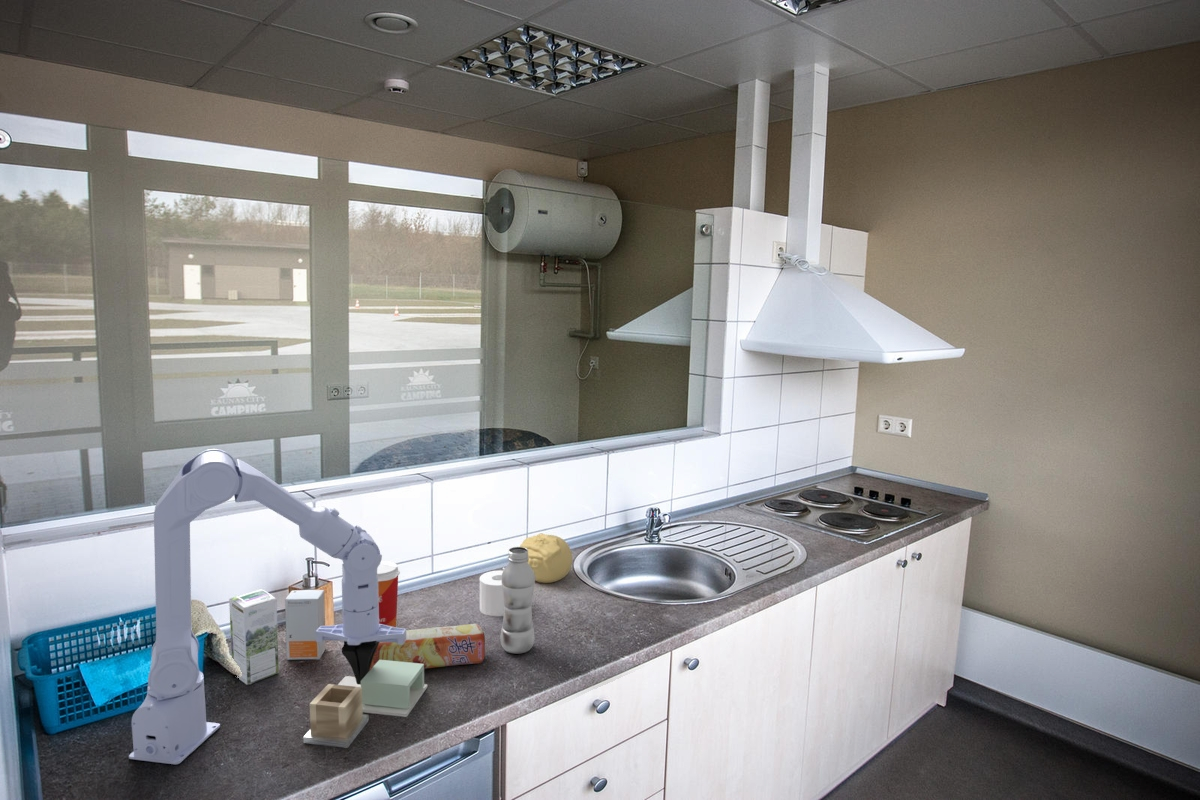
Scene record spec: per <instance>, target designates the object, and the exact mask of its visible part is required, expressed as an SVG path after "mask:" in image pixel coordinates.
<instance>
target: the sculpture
mask: <svg viewBox="0 0 1200 800" xmlns="http://www.w3.org/2000/svg"><path fill="white" fill-rule="evenodd" d="M519 547H524V548H526V549H528V557H529V560H528V561H527V562H528V564H529V565H530V566H531V568H532V569H533V571H534V574H535V582H538V583H543V584H551V583H554V582H558V581H559V580H562V579H564V578H566V576H567V575H568V574H569V572H570V570H571V568H572V564H573V553H572V550H571V548H570V546H569V544H568V542H566V540H564V539H563V538H562V537H559V536H557V535H554V534H544V533H539V534H537V535H533V536H529V537H526V538H524V540H523V541H522V543H521V544H520V546H519Z"/></svg>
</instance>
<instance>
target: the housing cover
mask: <svg viewBox="0 0 1200 800" xmlns="http://www.w3.org/2000/svg"><path fill="white" fill-rule="evenodd" d="M424 684H425V669H424V664H420V663H410V662H399V661H389V660H379V661H378V662H377V663H376V664H375V665H374V666H373V668H372V669H371V670H370V671H369V672H368V673H367V674H366V676H365V677H364V678H363V679H362V680H361V687H362V704H368V705H377V706H387V707H396V708H405V709H408V708H409V707H410V687H416V688H423V687H424Z"/></svg>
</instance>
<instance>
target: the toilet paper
mask: <svg viewBox="0 0 1200 800" xmlns="http://www.w3.org/2000/svg"><path fill="white" fill-rule="evenodd" d="M505 568H506V567H502V570H491V571H487V572H484V573H482V574H481V575H480V576H479V612H480V613H481V614H483V615H485V616H489V617H503V616H504V597H503V589H502V582H501V576H502V573H503V571H504V569H505Z"/></svg>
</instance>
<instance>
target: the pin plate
mask: <svg viewBox="0 0 1200 800" xmlns="http://www.w3.org/2000/svg"><path fill="white" fill-rule="evenodd" d="M369 716H370V715H369V714H364V713H363V717H362V718H361V719H360V721H359V722H358V723H357V724H356V726H355V727H354V728H353V729H352V731H351V732H350V733H349V734H348V736H347V737H346V738H340V737H331V736H322V735H313V734H311V729H309V730H308V731H307V732H306V733H305V735H304V736H303V738H302V739H303V744H311V745H320V746H325V747H326V746H327V747H334V748H336V747H337V748H344V749H348V748H349V747H350V745H351V744H352V743H353V742H354V740H355V739H356V738H357V736H358V735H359V734H360V732H361V731H362V730H363V729H364V727H365V726H366V725H367V724H368V722H369Z"/></svg>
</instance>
